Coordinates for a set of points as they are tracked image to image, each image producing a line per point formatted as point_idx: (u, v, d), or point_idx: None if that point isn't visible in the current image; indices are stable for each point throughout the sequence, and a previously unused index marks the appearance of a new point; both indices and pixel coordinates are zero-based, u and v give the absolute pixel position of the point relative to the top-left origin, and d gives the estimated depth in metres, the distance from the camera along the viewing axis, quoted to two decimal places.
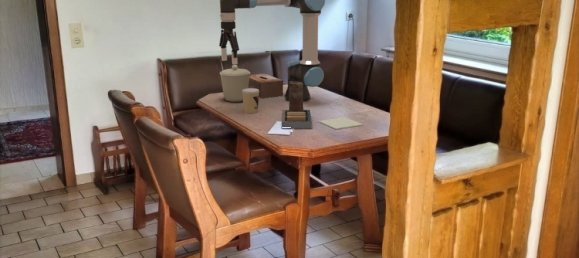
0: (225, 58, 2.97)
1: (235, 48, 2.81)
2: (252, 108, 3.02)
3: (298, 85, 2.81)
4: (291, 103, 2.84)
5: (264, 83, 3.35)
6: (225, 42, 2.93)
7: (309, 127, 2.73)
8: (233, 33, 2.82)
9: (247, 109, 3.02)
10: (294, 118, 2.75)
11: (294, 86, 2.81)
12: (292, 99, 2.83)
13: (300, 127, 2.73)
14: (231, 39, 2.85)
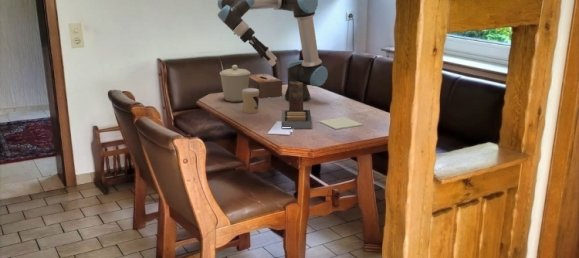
0: (274, 58, 2.87)
1: (260, 54, 2.70)
2: (252, 108, 3.02)
3: (298, 85, 2.81)
4: (291, 103, 2.84)
5: (262, 83, 3.35)
6: (261, 47, 2.84)
7: (309, 127, 2.73)
8: (251, 42, 2.72)
9: (247, 109, 3.02)
10: (294, 118, 2.75)
11: (294, 86, 2.81)
12: (292, 99, 2.83)
13: (300, 127, 2.73)
14: None
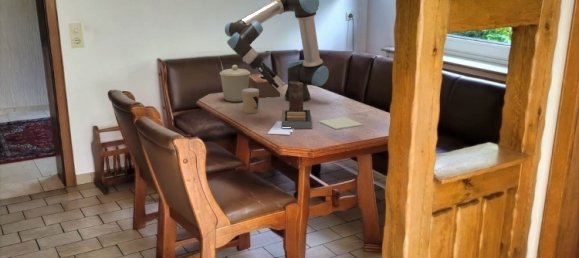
0: (282, 84, 2.90)
1: (269, 81, 2.73)
2: (252, 108, 3.02)
3: (298, 85, 2.81)
4: (291, 103, 2.84)
5: (260, 83, 3.35)
6: (269, 73, 2.87)
7: (309, 127, 2.73)
8: (260, 69, 2.75)
9: (247, 109, 3.02)
10: (294, 118, 2.75)
11: (294, 86, 2.81)
12: (292, 99, 2.83)
13: (300, 127, 2.73)
14: None
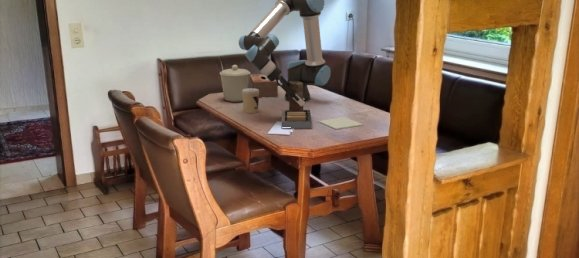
0: None
1: (290, 95, 2.79)
2: (252, 108, 3.02)
3: (298, 85, 2.81)
4: (291, 103, 2.84)
5: (257, 83, 3.35)
6: None
7: (309, 127, 2.73)
8: (280, 83, 2.77)
9: (247, 109, 3.02)
10: (294, 118, 2.75)
11: (294, 86, 2.81)
12: (292, 99, 2.83)
13: (300, 127, 2.73)
14: None
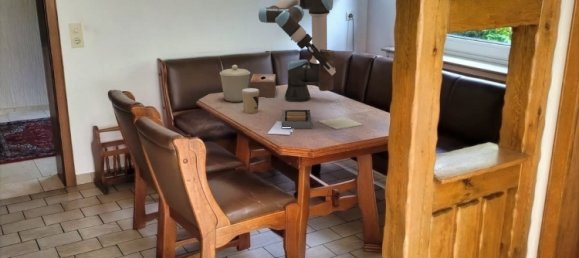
0: None
1: (321, 63, 2.67)
2: (252, 108, 3.02)
3: (329, 53, 2.69)
4: (321, 72, 2.72)
5: (253, 83, 3.36)
6: None
7: (309, 127, 2.73)
8: (311, 50, 2.66)
9: (247, 109, 3.02)
10: (294, 118, 2.75)
11: (325, 54, 2.69)
12: (322, 68, 2.71)
13: (300, 127, 2.73)
14: None
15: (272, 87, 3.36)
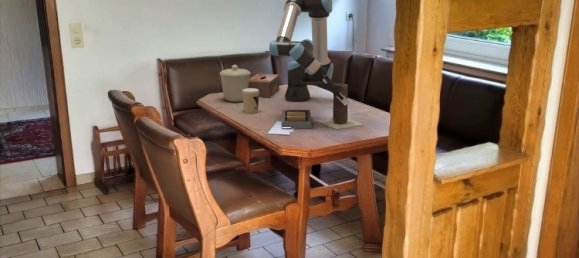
0: None
1: (334, 94, 2.68)
2: (252, 108, 3.02)
3: (343, 87, 2.74)
4: (335, 105, 2.77)
5: (249, 82, 3.37)
6: None
7: (309, 127, 2.73)
8: (324, 81, 2.69)
9: (247, 109, 3.02)
10: (294, 118, 2.75)
11: (339, 88, 2.74)
12: (337, 101, 2.76)
13: (300, 127, 2.73)
14: None
15: (267, 87, 3.35)
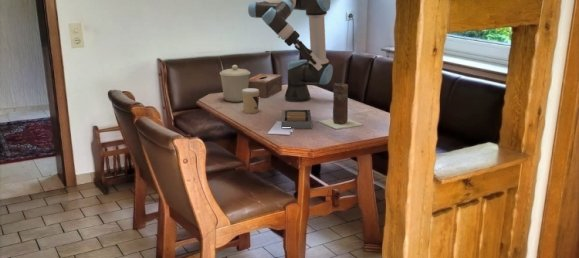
0: (318, 61, 2.79)
1: (307, 58, 2.63)
2: (252, 108, 3.02)
3: (343, 87, 2.74)
4: (336, 105, 2.77)
5: None
6: None
7: (309, 127, 2.73)
8: (297, 45, 2.64)
9: (247, 109, 3.02)
10: (294, 118, 2.75)
11: (339, 88, 2.74)
12: (337, 101, 2.76)
13: (300, 127, 2.73)
14: None
15: (264, 87, 3.35)
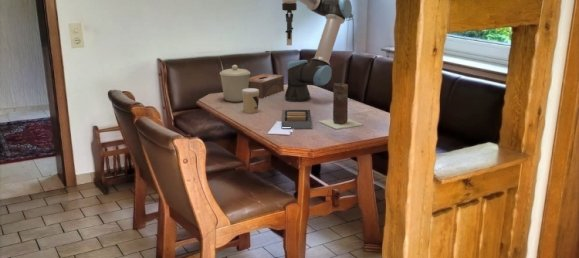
0: None
1: (287, 29, 2.86)
2: (252, 108, 3.02)
3: (343, 87, 2.74)
4: (336, 105, 2.77)
5: None
6: None
7: (309, 127, 2.73)
8: (288, 14, 2.86)
9: (247, 109, 3.02)
10: (294, 118, 2.75)
11: (339, 88, 2.74)
12: (337, 101, 2.76)
13: (300, 127, 2.73)
14: None
15: (260, 87, 3.35)
